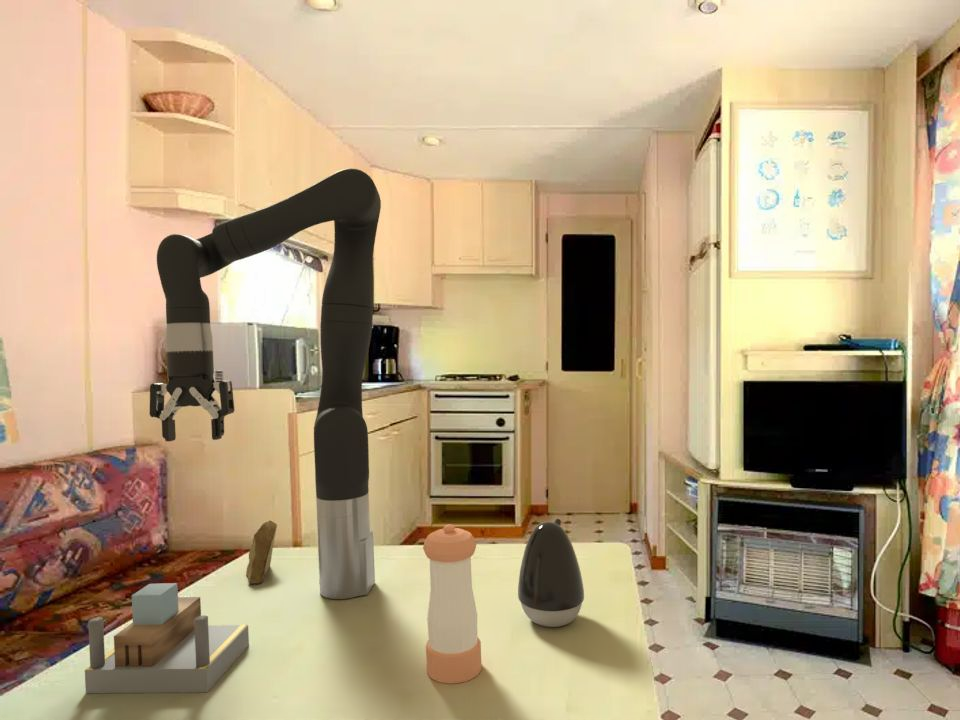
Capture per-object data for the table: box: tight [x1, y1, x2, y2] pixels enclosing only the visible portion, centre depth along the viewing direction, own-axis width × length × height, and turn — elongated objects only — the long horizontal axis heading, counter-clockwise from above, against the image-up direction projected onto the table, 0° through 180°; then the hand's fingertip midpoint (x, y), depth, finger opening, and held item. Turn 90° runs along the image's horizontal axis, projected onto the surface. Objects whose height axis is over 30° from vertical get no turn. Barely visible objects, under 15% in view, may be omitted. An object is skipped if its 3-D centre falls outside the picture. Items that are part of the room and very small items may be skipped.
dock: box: [84, 615, 250, 694], centre depth 81 cm, size 16×12×9 cm
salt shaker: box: [422, 523, 483, 684], centre depth 78 cm, size 7×7×19 cm
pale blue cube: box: [131, 582, 179, 625], centre depth 81 cm, size 4×4×4 cm
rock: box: [245, 520, 278, 585], centre depth 115 cm, size 11×9×10 cm
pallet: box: [113, 596, 202, 667], centre depth 82 cm, size 12×5×4 cm, turn 177°
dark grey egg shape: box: [517, 518, 585, 628], centre depth 92 cm, size 10×10×15 cm
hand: (193, 440), depth 105 cm, fingers open, 8 cm apart
